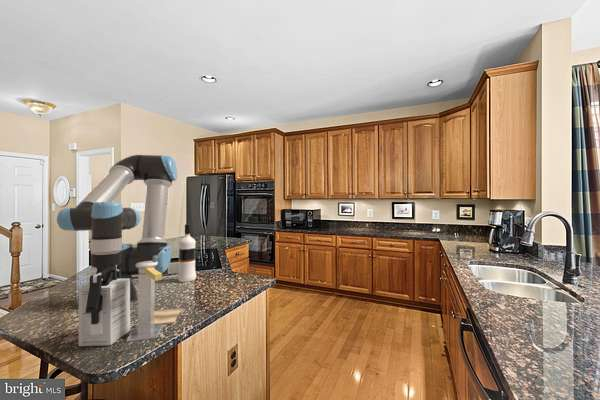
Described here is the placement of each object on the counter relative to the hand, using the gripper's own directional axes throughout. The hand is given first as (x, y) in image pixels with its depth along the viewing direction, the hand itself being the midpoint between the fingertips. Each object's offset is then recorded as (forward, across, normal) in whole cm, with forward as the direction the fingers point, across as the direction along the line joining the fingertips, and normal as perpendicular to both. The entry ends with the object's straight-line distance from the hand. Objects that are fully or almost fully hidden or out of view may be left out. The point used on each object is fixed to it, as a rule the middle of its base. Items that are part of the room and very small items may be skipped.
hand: (105, 325), depth 78 cm
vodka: (+4, -58, +13) cm, 60 cm away
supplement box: (+4, 0, 0) cm, 4 cm away
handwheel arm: (-16, +4, +13) cm, 21 cm away
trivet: (+4, -11, +12) cm, 17 cm away
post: (+4, 0, +11) cm, 12 cm away
